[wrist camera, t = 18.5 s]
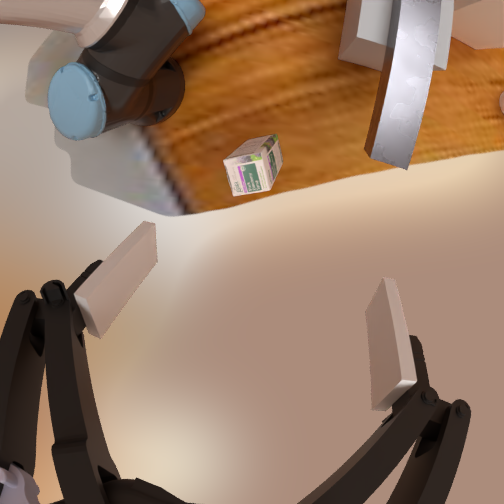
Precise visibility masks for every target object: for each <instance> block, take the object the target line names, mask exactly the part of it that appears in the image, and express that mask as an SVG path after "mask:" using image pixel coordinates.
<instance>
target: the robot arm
mask: <svg viewBox="0 0 504 504" xmlns="http://www.w3.org/2000/svg"><path fill="white" fill-rule="evenodd" d="M204 16H205V8H204V6H203V4H202V3H201V2H200V1H199V0H0V24H11V25H22V26H31V27H39V28H46V29H52V30H58V31H63V32H68V33H73V34H74V35H75V37H76V40H77V43H78V45H79V46H80V47H82V48H84V50H83V52H82V53H81V55H80V57H79V59H78V60H77V62H71V63H68V64H67V65H65V66H64V67H61V68H60V69H59V70H58V71H57V72H56V73H55V75H54V76H53V78H52V80H51V82H50V86H49V90H48V108H49V111H50V117H51V119H52V121H53V123H54V125H55V127H56V128H57V130H58V131H59V132H60V133H61V134H62V135H63V136H65V137H67V138H69V139H71V140H84V139H87V138H94V137H97V136H98V135H99V134H101V133H104V132H106V131H109V130H112V129H115V128H117V127H120V126H123V125H126V124H128V123H131V124H136V125H141V126H148V125H153V124H157V123H159V122H162V121H164V120H166V119H168V118H169V117H170V116H171V115H173V114H174V112H175V111H176V110H177V109H178V107H179V105H180V104H181V101H182V99H183V96H184V91H185V80H184V75H183V72H182V70H181V68H180V66H179V64H178V63H177V62H176V61H175V60H174V59H173V58H172V57H170V56H171V54H172V53H173V52H174V51H175V50H176V49H177V48H178V46H179V45H180V44H181V43H182V42H183V41H184V40H185V39H186V37H187V36H190V35H191V33H192V30H193V29H194V28H195V27H196V26H197V25H198V23H199V22H200V21H201V20H202V19H203V18H204ZM156 263H157V247H156V231H155V223H150V222H146V221H143V223H142V224H140V225H139V226H138V227H137V228H136V229H135V230H134V231H133V232H132V233H131V234H130V235H129V236H128V237H127V238H126V239H125V240H124V241H123V242H122V243H121V244H120V245H119V246H118V247H117V248H116V249H115V250H114V251H113V252H112V253H111V254H110V255H109V256H108V257H107V258H106V259H105V260H104V261H102V260H97V261H96V262H94V263H92V264H90V266H88V267H87V269H86V270H85V272H83V273H82V274H81V275H80V276H79V277H78V278H77V279H76V280H75V281H74V282H73V283H72V285H71V286H70V287H69V288H68V289H67V290H66V289H65V286H64V283H62V282H61V281H60V280H51V281H48V282H47V283H45V284H44V285H43V286H42V288H41V290H40V293H41V296H42V298H43V299H39V298H36V295H35V293H34V292H33V291H32V290H25V291H22V292H21V293H19V294H18V295H17V296H16V298H15V300H14V303H13V305H12V307H11V310H10V312H9V315H8V318H7V321H6V324H5V326H4V329H3V332H2V335H1V338H0V504H40V503H39V501H38V498H37V495H38V494H39V492H40V491H39V487H38V485H36V483H35V480H34V479H33V474H34V469H35V458H36V435H37V421H38V411H39V401H40V394H41V387H42V380H43V374H44V368H45V363H46V377H47V378H46V379H47V389H48V399H49V407H50V414H51V421H52V427H53V432H54V438H55V443H54V444H53V445H52V449H51V450H52V457H53V461H54V465H55V470H56V473H57V477H58V481H59V484H60V488H61V491H62V494H63V498H64V499H63V500H60V501H57V502H54V503H50V504H194V503H186V502H184V501H182V500H180V499H179V498H177V497H175V496H174V495H172V494H171V493H169V492H167V491H166V490H164V489H163V488H161V487H158V486H156V485H153V484H151V483H148V482H146V481H143V480H141V479H139V478H136V479H135V480H133V479H121V478H120V475H119V472H118V470H117V468H116V465H115V464H114V462H113V460H112V459H111V456H110V454H109V451H108V448H107V444H106V441H105V438H104V434H103V431H102V427H101V423H100V419H99V415H98V412H97V407H96V403H95V398H94V394H93V389H92V384H91V379H90V374H89V368H88V362H87V355H86V349H85V341H84V334H83V332H82V331H83V330H84V328H85V327H87V330H88V332H89V334H91V335H93V336H95V337H98V338H100V339H101V338H102V337H103V335H104V334H105V332H106V331H107V330H108V328H109V327H110V325H111V323H112V322H113V321H114V320H115V318H116V317H117V315H118V314H119V313H120V311H121V310H122V308H123V307H124V306H125V304H126V303H127V302H128V300H129V299H130V297H131V296H132V295H133V293H134V292H135V291H136V289H137V288H138V287H139V285H140V284H141V283H142V281H143V280H144V279H145V277H146V276H147V274H148V273H149V272H150V271H151V269H152V268H153V267H154V266H155V264H156ZM366 321H367V332H368V343H369V356H370V374H371V400H372V410H378V411H386V410H388V409H389V408H390V407H391V406H392V413H391V414H390V415H389V416H388V417H387V418H385V419H384V420H383V421H382V422H383V424H381V426H380V427H379V428H378V429H377V430H376V431H375V432H374V433H373V435H372V436H371V437H370V438H369V439H368V440H367V441H366V442H365V443H364V444H363V445H362V446H361V447H360V448H359V449H358V450H357V451H356V452H355V453H354V454H353V455H352V456H351V457H350V458H349V459H348V460H347V461H346V462H345V463H344V464H343V465H342V466H341V467H340V468H339V469H338V470H337V471H336V472H335V473H333V474H332V475H331V476H330V477H329V478H328V479H327V480H326V481H324V482H323V483H322V484H321V485H320V486H319V487H317V488H316V489H315V490H314V491H313V492H311V493H310V494H309V495H308V496H306V497H305V498H304V499H302V500H301V501H300V502H299V503H297V504H363V503H364V502H365V501H366V500H367V499H368V498H369V497H370V496H371V495H372V494H373V493H374V491H375V490H376V489H377V488H378V487H379V486H380V485H381V484H382V483H383V481H384V480H385V479H386V478H387V477H388V475H389V474H390V473H391V472H392V470H393V469H394V468H395V467H396V466H397V465H398V463H399V462H400V461H401V459H402V458H403V457H404V455H405V454H406V453H407V451H408V450H409V449H410V447H411V446H412V445H413V443H414V442H415V440H416V439H417V440H416V443H415V445H414V448H413V450H412V453H411V455H410V457H409V460H408V462H407V464H406V466H405V468H404V470H403V472H402V475H401V477H400V479H399V481H398V483H397V485H396V487H395V489H394V491H393V492H392V494H391V496H390V498H389V500H388V502H387V503H386V504H445V501H446V499H447V496H448V494H449V491H450V489H451V486H452V483H453V480H454V477H455V474H456V471H457V468H458V465H459V462H460V458H461V454H462V451H463V448H464V444H465V440H466V436H467V432H468V427H469V423H470V418H471V410H470V407H469V405H468V404H467V403H466V402H465V401H464V400H461V399H459V400H456V401H454V402H453V403H452V404H450V403H448V402H445V401H443V400H440V399H439V396H438V394H437V392H436V391H435V390H434V389H433V388H432V387H430V385H429V379H428V374H427V369H426V363H425V362H424V360H425V358H424V355H423V349H422V345H421V343H420V341H419V340H418V338H417V337H416V336H412V335H409V333H408V329H407V324H406V320H405V316H404V312H403V307H402V303H401V300H400V295H399V292H398V288H397V284H396V281H395V279H391V278H387V277H383V278H382V281H381V283H380V285H379V287H378V289H377V290H376V292H375V294H374V297H373V299H372V300H371V302H370V304H369V306H368V308H367V310H366Z"/></svg>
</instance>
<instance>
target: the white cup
mask: <svg viewBox="0 0 504 504" xmlns="http://www.w3.org/2000/svg"><path fill="white" fill-rule="evenodd" d="M499 102H500V108H501V111H502V112H503V114H504V92H502V94H501V95H500V99H499Z"/></svg>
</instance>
